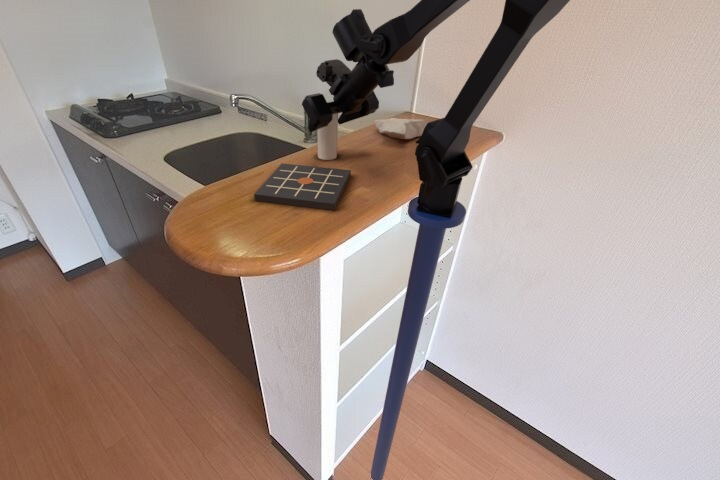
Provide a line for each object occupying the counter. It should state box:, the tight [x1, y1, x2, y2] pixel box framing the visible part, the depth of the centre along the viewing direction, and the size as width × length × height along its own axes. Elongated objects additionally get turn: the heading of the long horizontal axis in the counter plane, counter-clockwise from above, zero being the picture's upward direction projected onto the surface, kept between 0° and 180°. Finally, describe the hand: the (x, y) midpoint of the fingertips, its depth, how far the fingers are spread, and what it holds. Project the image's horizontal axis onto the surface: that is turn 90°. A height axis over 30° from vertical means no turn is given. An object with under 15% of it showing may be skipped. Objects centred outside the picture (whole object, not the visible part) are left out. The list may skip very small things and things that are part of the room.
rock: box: [374, 117, 430, 140], centre depth 99 cm, size 21×5×15 cm
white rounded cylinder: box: [316, 99, 339, 161], centre depth 84 cm, size 5×5×13 cm
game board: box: [253, 162, 352, 211], centre depth 73 cm, size 16×16×2 cm
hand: (324, 126), depth 84 cm, fingers open, 9 cm apart
